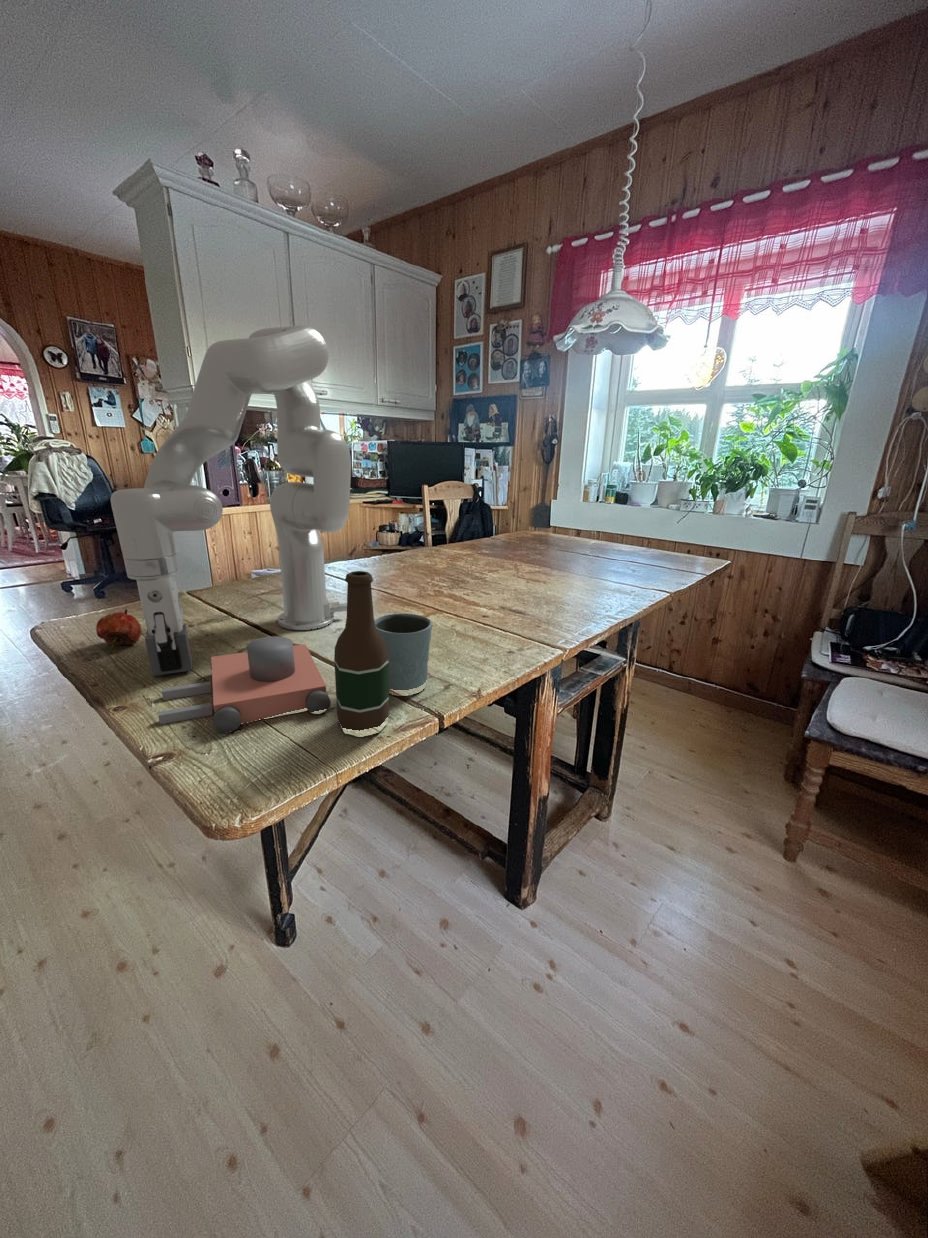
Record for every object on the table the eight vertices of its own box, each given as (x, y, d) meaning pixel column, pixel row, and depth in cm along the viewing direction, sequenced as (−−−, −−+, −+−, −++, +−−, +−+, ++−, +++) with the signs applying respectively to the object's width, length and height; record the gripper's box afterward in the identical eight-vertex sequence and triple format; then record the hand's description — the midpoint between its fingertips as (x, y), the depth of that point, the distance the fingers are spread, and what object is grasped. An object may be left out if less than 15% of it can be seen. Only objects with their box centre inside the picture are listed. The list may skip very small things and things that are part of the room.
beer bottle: (341, 711, 78) (334, 565, 69) (390, 711, 78) (389, 566, 70) (333, 739, 70) (324, 580, 62) (387, 739, 71) (385, 581, 63)
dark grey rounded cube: (192, 658, 91) (185, 624, 89) (192, 670, 87) (185, 634, 84) (155, 664, 88) (147, 629, 86) (152, 676, 84) (144, 639, 82)
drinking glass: (387, 704, 81) (387, 637, 76) (365, 678, 88) (363, 617, 84) (440, 690, 86) (443, 627, 82) (415, 668, 94) (415, 609, 90)
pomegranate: (137, 662, 95) (158, 619, 101) (110, 643, 89) (133, 599, 95) (104, 662, 96) (126, 620, 102) (75, 644, 90) (100, 600, 96)
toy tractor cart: (306, 659, 95) (303, 616, 92) (331, 712, 77) (328, 661, 74) (165, 680, 84) (157, 632, 81) (156, 747, 67) (145, 689, 64)
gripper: (176, 576, 75) (195, 680, 82) (179, 552, 89) (196, 642, 96) (118, 581, 72) (143, 688, 79) (131, 555, 86) (152, 648, 93)
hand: (172, 662), depth 87 cm, fingers closed on dark grey rounded cube, 5 cm apart
